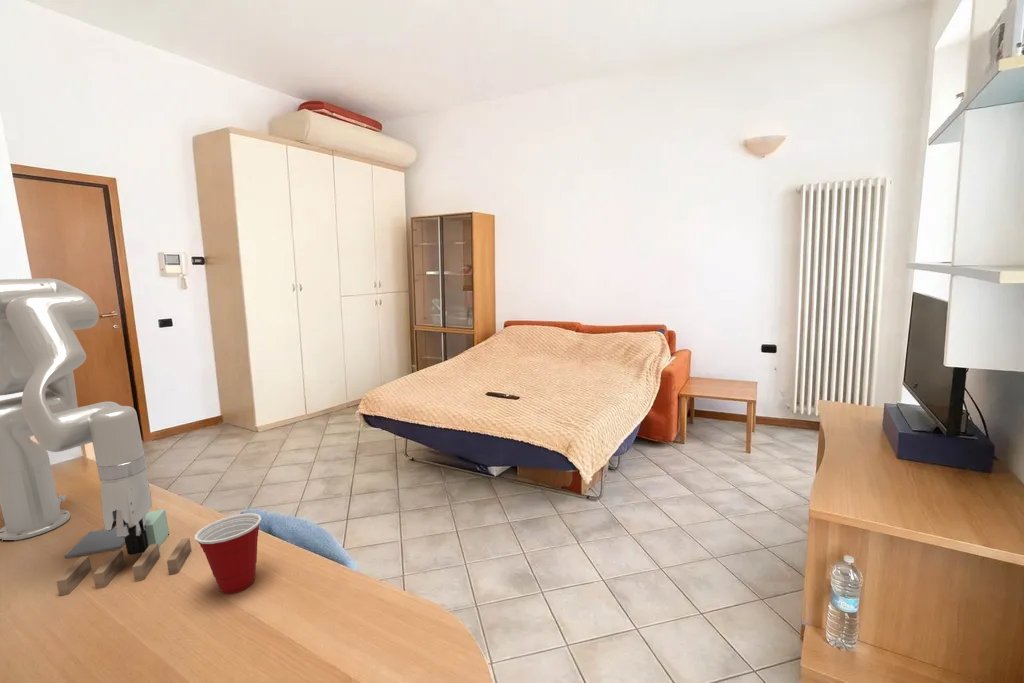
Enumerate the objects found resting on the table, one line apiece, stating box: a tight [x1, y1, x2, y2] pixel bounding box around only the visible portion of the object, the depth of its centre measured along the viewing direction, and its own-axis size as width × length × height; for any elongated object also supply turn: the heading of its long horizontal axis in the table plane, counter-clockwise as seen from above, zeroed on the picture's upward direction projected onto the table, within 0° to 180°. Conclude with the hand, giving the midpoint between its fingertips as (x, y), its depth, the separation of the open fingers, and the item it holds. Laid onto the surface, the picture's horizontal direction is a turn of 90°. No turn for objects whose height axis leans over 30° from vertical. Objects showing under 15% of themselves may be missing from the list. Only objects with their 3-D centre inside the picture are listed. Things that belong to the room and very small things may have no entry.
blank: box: [143, 508, 170, 548], centre depth 107 cm, size 7×4×6 cm, turn 17°
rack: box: [56, 537, 193, 597], centre depth 98 cm, size 8×19×3 cm, turn 106°
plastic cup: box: [194, 512, 262, 595], centre depth 91 cm, size 11×11×12 cm
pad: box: [64, 527, 126, 559], centre depth 110 cm, size 10×10×1 cm
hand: (138, 551), depth 102 cm, fingers closed
